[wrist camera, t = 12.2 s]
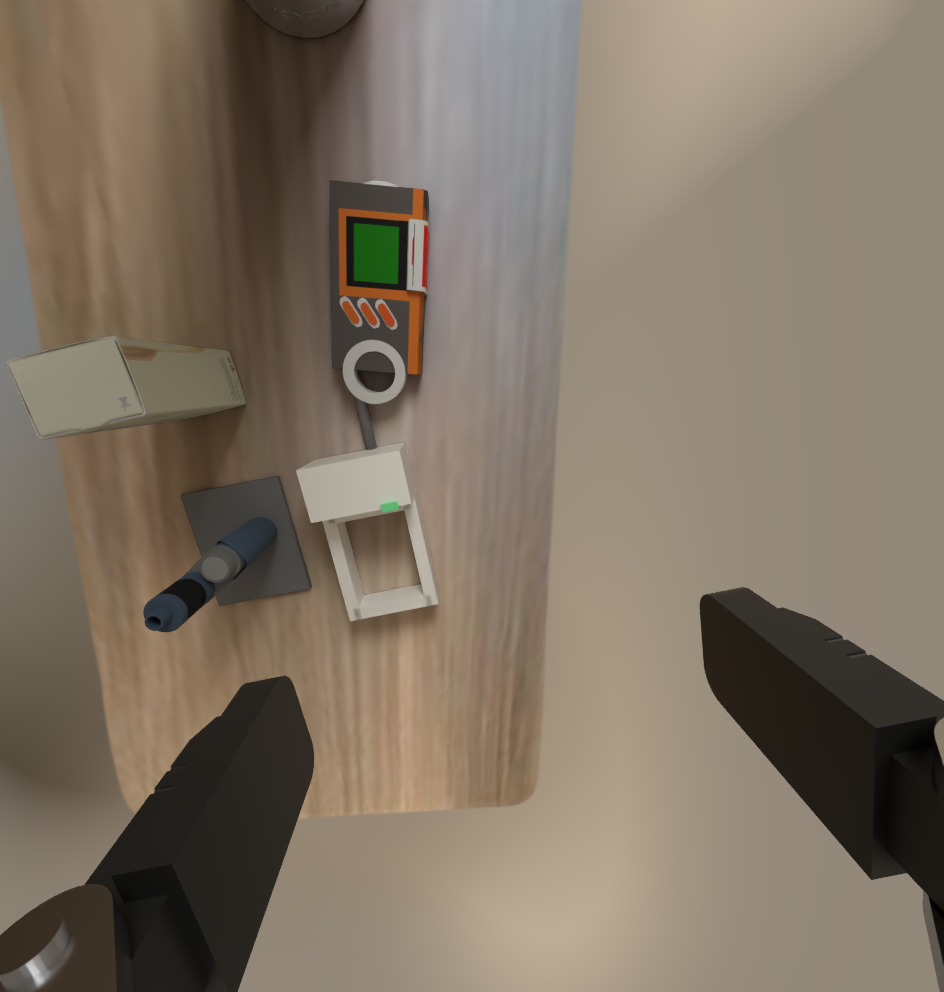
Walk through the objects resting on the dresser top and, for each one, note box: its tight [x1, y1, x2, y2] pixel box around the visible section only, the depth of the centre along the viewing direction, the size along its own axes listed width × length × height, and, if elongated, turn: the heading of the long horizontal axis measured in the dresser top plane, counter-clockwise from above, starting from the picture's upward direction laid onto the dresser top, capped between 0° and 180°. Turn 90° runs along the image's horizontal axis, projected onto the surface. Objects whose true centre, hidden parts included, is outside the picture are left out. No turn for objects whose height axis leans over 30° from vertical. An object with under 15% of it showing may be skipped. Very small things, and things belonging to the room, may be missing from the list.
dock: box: [296, 370, 439, 621], centre depth 35 cm, size 24×8×5 cm, turn 11°
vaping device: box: [144, 517, 277, 632], centre depth 33 cm, size 3×5×12 cm, turn 134°
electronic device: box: [330, 180, 430, 404], centre depth 34 cm, size 7×3×15 cm
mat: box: [181, 476, 312, 606], centre depth 39 cm, size 10×8×1 cm
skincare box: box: [7, 336, 246, 439], centre depth 30 cm, size 6×4×12 cm
